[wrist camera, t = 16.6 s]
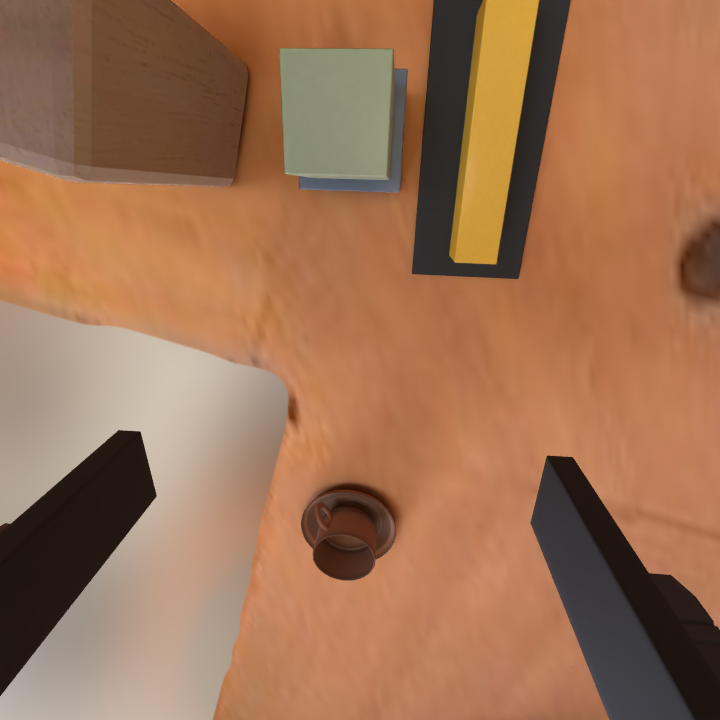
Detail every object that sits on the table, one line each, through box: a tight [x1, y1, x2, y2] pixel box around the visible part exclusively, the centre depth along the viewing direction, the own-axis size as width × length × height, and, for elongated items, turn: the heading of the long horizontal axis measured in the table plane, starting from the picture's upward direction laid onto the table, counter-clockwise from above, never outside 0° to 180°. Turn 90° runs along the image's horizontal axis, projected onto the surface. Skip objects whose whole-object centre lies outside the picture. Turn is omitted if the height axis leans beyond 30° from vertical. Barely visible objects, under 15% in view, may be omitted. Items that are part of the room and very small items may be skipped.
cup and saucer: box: [301, 490, 396, 580], centre depth 49 cm, size 12×12×6 cm
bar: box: [449, 0, 539, 264], centre depth 32 cm, size 18×4×4 cm, turn 178°
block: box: [0, 0, 248, 187], centre depth 26 cm, size 10×10×20 cm
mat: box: [412, 0, 570, 279], centre depth 34 cm, size 22×10×1 cm, turn 178°
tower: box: [280, 48, 408, 192], centre depth 28 cm, size 8×8×14 cm
